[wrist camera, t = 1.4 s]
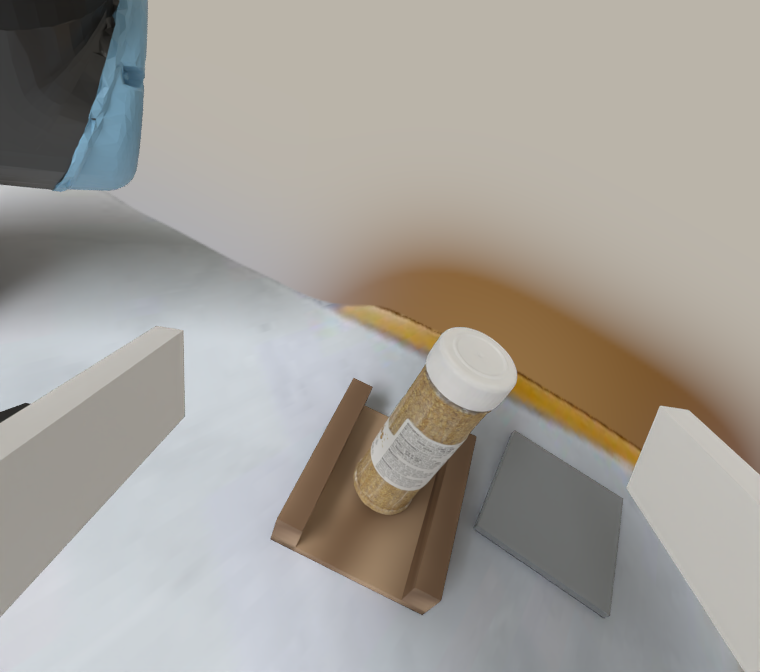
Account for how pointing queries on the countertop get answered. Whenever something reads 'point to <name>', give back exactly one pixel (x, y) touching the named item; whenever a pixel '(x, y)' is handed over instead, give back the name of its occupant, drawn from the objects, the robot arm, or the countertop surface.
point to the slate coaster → (554, 521)
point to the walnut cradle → (373, 513)
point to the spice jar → (434, 417)
